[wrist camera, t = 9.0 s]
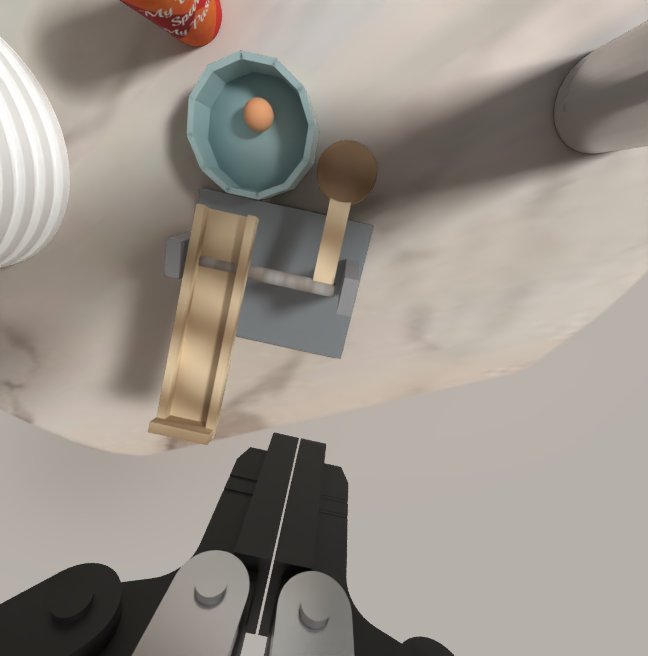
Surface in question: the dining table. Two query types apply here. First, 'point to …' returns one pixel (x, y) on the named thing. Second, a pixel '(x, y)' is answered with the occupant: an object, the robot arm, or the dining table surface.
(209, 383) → the lever
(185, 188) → the dining table surface
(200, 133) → the bowl
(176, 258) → the stand
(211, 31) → the paper cup
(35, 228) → the plate stack
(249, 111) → the ball
